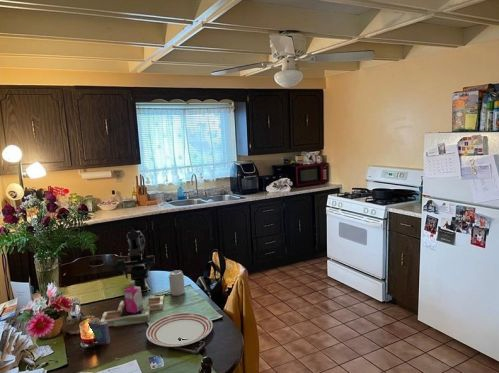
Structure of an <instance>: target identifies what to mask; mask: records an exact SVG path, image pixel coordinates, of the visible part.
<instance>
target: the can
mask: <svg viewBox="0 0 499 373" xmlns="http://www.w3.org/2000/svg"><path fill="white" fill-rule="evenodd" d="M184 277H185V276H184V273H183V271H182V270H180V269H179V270H172V271H170V272H169V275H168V282H169V291H170V295H172V296H173V297H179V296H182V295H183V294H185V292H186V288H185V278H184Z"/></svg>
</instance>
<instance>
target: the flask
mask: <svg viewBox="0 0 499 373" xmlns="http://www.w3.org/2000/svg"><path fill="white" fill-rule="evenodd" d="M100 321H101V318H100V317H97V318H94V319H92V320H89V321H88V322H87V325H88V324H89V326H90V328H91V329H92V331H93V333H94V335H95V338H96V341H97V342H98V344H97V345H109V344H110V343H111V338H110V332H109V331H110V330H109V326H108V322H100ZM89 326H88V327H89Z"/></svg>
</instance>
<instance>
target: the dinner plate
mask: <svg viewBox="0 0 499 373" xmlns="http://www.w3.org/2000/svg"><path fill="white" fill-rule="evenodd" d="M213 327H214V326H213V321H212V320H211V319H210V318H209V316H207V315H204V314H202V313H197V312H178V313H172V314H169V315H165V316H163V317H160V318H158V319H156V320H154V322H152V323H151V324H150V325H149V326H148V328H147V329H146V333H145V335H146V336H145V337H146V338H147V339H148V341H149V342H150V343H153V344H155V345H156V346H157V345H158V346H161V347H166V348H167V347H168V348H171V347H172V348H174V347H175V348H177V347H183V346H188V345H191V344H194V343H196V342H199V341H201V340H202V339H205V338H206V337H207V336H208V335H209V334H210V333H211V332H212V329H213ZM179 337H180V338H186V339H189V340H182V339H181V341H179V340H178V338H179Z"/></svg>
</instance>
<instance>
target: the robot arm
mask: <svg viewBox="0 0 499 373" xmlns="http://www.w3.org/2000/svg"><path fill="white" fill-rule="evenodd" d="M126 241H127V242H128V246H129V256H128V258H129V261H125V259H118V260H117V261H116V262H115V264H116V268H117V271H120V272H122V273H123V274H124V277H125V278H126V280H128V277H129V276H128V270H127V267H128V266H131V269H130V270H129V272H130V280H131V281H134V282H133V283H134V286H137V287H141V292H142V291H145V290H147V289H149V286H147V285H146V279H148V278H149V271H150V270H151V268H153V267H154V266H155V265H156V260H155V255H148V256H147V255H146V258H145V259H143V254H144V250H145V246H146V240H145V236H144V234H143V233H142V232H141V230H135V229H131V231H128V233H127V234H126Z"/></svg>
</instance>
